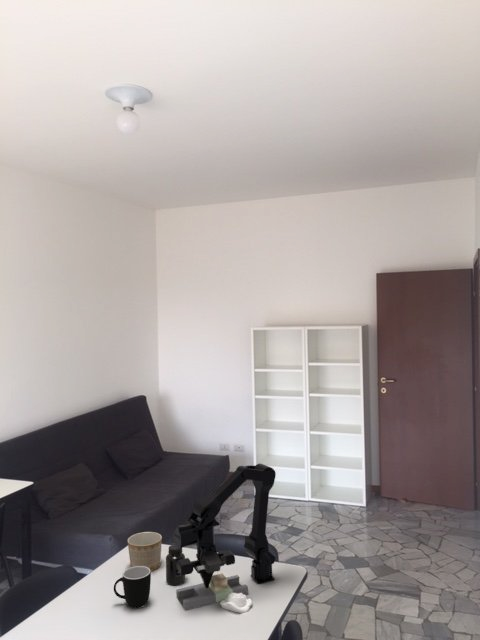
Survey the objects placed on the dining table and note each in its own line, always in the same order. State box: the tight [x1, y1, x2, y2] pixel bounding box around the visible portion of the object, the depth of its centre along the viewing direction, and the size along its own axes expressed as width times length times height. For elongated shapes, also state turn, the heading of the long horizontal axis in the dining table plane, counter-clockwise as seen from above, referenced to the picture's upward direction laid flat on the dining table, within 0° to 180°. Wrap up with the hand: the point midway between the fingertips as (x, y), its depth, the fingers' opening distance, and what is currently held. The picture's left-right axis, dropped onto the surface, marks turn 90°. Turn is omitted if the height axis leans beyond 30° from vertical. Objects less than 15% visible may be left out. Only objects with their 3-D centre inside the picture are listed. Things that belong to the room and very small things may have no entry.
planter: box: [127, 531, 163, 572], centre depth 198 cm, size 13×13×10 cm
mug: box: [113, 566, 152, 609], centre depth 172 cm, size 12×9×10 cm
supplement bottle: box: [165, 543, 186, 586], centre depth 186 cm, size 7×7×12 cm
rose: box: [220, 593, 253, 614], centre depth 169 cm, size 10×4×10 cm
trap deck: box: [175, 574, 249, 611], centre depth 176 cm, size 22×9×2 cm, turn 114°
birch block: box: [210, 572, 228, 591], centre depth 177 cm, size 4×4×3 cm
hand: (206, 587), depth 175 cm, fingers closed
